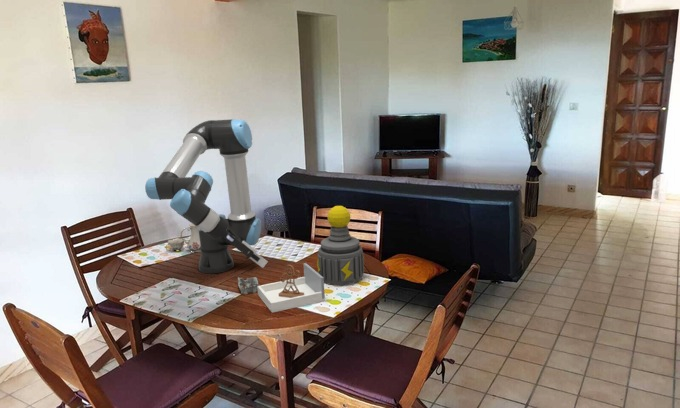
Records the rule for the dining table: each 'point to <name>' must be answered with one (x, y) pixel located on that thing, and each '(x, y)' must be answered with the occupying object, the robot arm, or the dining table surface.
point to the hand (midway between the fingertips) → (259, 259)
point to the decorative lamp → (340, 251)
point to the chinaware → (191, 244)
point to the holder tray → (308, 285)
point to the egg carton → (248, 285)
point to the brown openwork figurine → (286, 292)
